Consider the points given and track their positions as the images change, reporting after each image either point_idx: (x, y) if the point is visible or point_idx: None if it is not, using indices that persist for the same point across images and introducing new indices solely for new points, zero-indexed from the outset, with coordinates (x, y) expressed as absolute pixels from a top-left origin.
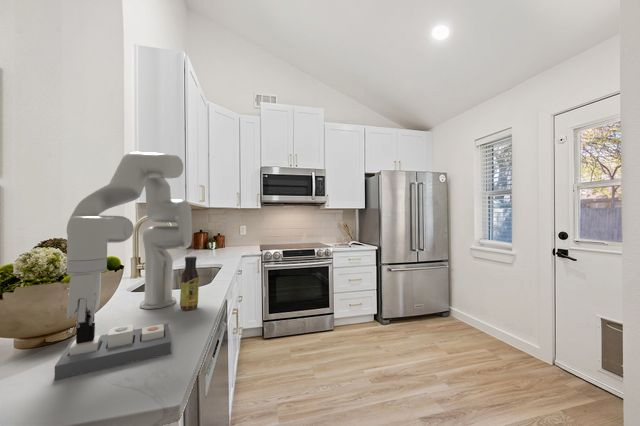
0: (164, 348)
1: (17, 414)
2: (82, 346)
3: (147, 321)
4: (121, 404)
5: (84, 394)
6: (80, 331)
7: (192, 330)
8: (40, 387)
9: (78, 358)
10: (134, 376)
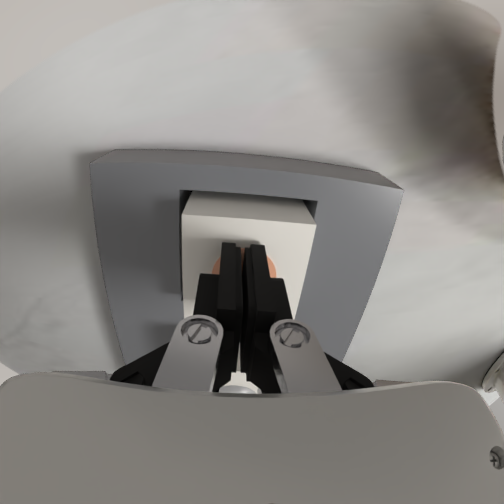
0: None
1: None
2: (183, 264)
3: (441, 359)
4: None
5: (13, 247)
6: (195, 308)
7: None
8: (86, 120)
9: (126, 239)
10: (61, 335)
